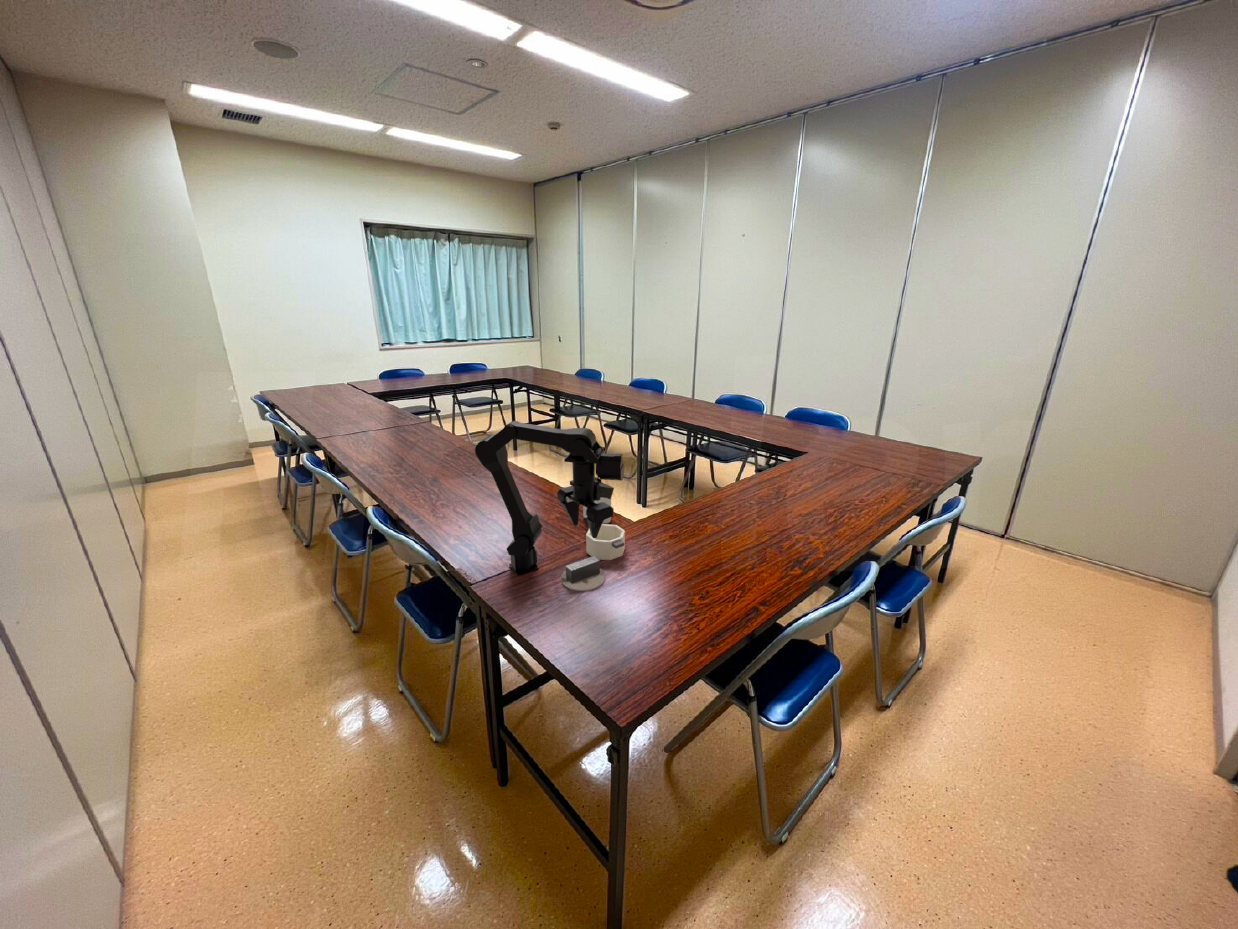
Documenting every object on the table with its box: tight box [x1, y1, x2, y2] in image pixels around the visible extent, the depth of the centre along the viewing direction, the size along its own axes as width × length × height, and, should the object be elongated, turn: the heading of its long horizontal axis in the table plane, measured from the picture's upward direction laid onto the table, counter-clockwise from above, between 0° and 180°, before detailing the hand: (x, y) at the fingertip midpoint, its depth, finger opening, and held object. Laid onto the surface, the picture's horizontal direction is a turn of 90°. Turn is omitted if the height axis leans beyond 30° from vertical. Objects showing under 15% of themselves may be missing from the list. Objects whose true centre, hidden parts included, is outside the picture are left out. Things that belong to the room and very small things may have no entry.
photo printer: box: [582, 497, 612, 524], centre depth 163 cm, size 10×4×12 cm, turn 60°
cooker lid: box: [560, 556, 606, 592], centre depth 129 cm, size 12×12×5 cm
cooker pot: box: [585, 523, 626, 561], centre depth 143 cm, size 11×15×6 cm
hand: (585, 531), depth 128 cm, fingers open, 9 cm apart
